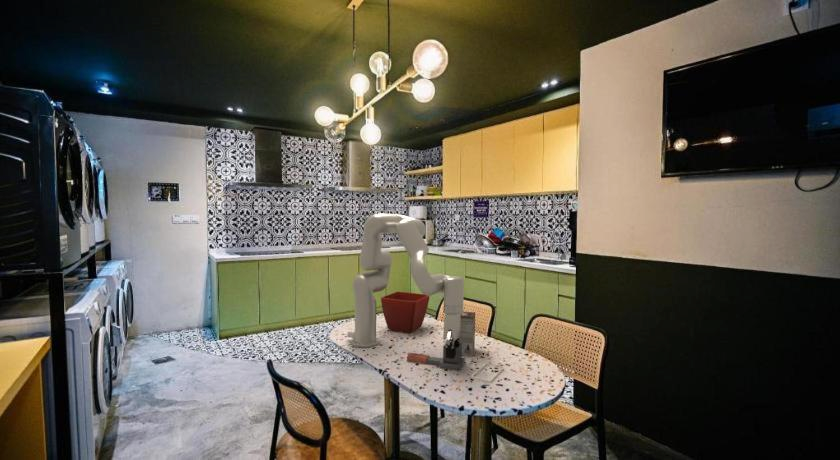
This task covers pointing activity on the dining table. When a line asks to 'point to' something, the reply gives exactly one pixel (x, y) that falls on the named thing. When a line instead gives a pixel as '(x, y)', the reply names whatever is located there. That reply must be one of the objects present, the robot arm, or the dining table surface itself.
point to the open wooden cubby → (456, 356)
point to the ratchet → (434, 361)
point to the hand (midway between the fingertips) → (452, 354)
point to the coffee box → (467, 333)
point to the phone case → (486, 379)
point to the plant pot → (404, 311)
